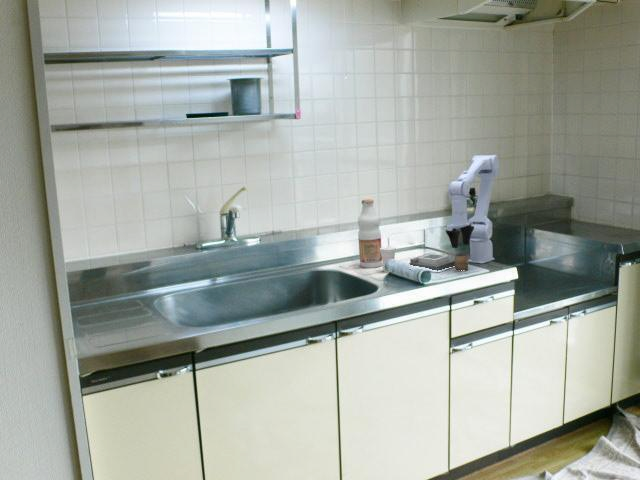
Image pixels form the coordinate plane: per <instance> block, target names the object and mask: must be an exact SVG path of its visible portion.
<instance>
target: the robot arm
mask: <svg viewBox="0 0 640 480" xmlns="http://www.w3.org/2000/svg"><path fill="white" fill-rule="evenodd" d="M499 168H500V160H499V157H498V155H496V154H490V155H485V154H484V155H474V156H472V158H471V165H470V167H469V168H468V169H467V170H463V171H462V172H461V174H460V175H459V176H458V177H457V178H456V180H454V181H453V180H452V181H451V182H450V183H449V185H448V189H447V190H448V194H449V200H450V201H451V216H452V217H451V218H452V219H451V220H452V223H450V224H448V225H446V229H445V233H446V234H447V236H448V239H449V242H450V245H451V248H452V249H457V248H458V247H459V238H460V237H459V236H460V233H461V235H462V243H463V244H462V245H465V246H467V245H468V246H469V252H470V253H469V255H470V256H469V257H470V258H468V263H473V264H474V263H476V264H486V263H488V262H491V261H494V260H495V258H494V257H493V256H494V255H493V253H494V251H493V242H492V240H490V239H491V238H492V235H493V222H492V221H491V220H490V219H489V218H488V213H489V208H490V202H491V198H492V191H493V185H494V179H495V178H497V177H498V173H499ZM476 177H478V178H479V179H480V183H479V190H478V195H477V202H476V207H475V212H474V215H473V216H472V217H470V218H469V219H468V203H467V201H468V199H467V196H469V193H470V190H471V186H472V185H473V184H474V183H475V181H476ZM457 229H460V230H457Z"/></svg>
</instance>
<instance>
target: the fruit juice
mask: <svg viewBox="0 0 640 480" xmlns="http://www.w3.org/2000/svg"><path fill="white" fill-rule="evenodd" d="M361 205H362V208H361V213H360V214H359V217H358V219H357V226H358V228H359V230H358V235H357V236H358V238H357V239H358V251H359V252H358V253H359V263H360V264H359V265H360V266H359V267H360V268H363V267H364V268H365V269H374V268H375V269H376V268H380V267H382V265H383V261H382V255H381V251H380V248H381V247H382V235H381V230H380V227H379V226H380V221H381V220H380V217H379V216H378V214H377V213H376V211H375V208H374V199H363V200H361Z"/></svg>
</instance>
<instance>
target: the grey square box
mask: <svg viewBox="0 0 640 480" xmlns="http://www.w3.org/2000/svg"><path fill="white" fill-rule="evenodd" d="M409 261H410V262H409V263H408V265H409V264H410V265H413V266H419V267H425V268H429V269H432V270H437V271H438V270H442V269H445V268H449V267H453V266H455V258H454V259H453V258H450V256H449V254H448V255H446V254H437V253H431V252H430V253H425V254H422V255H420V256H417V257H413V258H410V259H409ZM453 268H454V267H453Z"/></svg>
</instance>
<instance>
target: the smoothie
mask: <svg viewBox="0 0 640 480" xmlns="http://www.w3.org/2000/svg"><path fill="white" fill-rule="evenodd" d="M396 249H397V248H396V247H395V246H390V236H388V237H387V246H381V248H380V251H381V255H382V265H383V267H384V264H385V262H386V261H387V260H389V259H394V260H395V258H396V257H395V256H396ZM383 271H384V272H385V273H388V272H387V271H385V269H384V268H383Z"/></svg>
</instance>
